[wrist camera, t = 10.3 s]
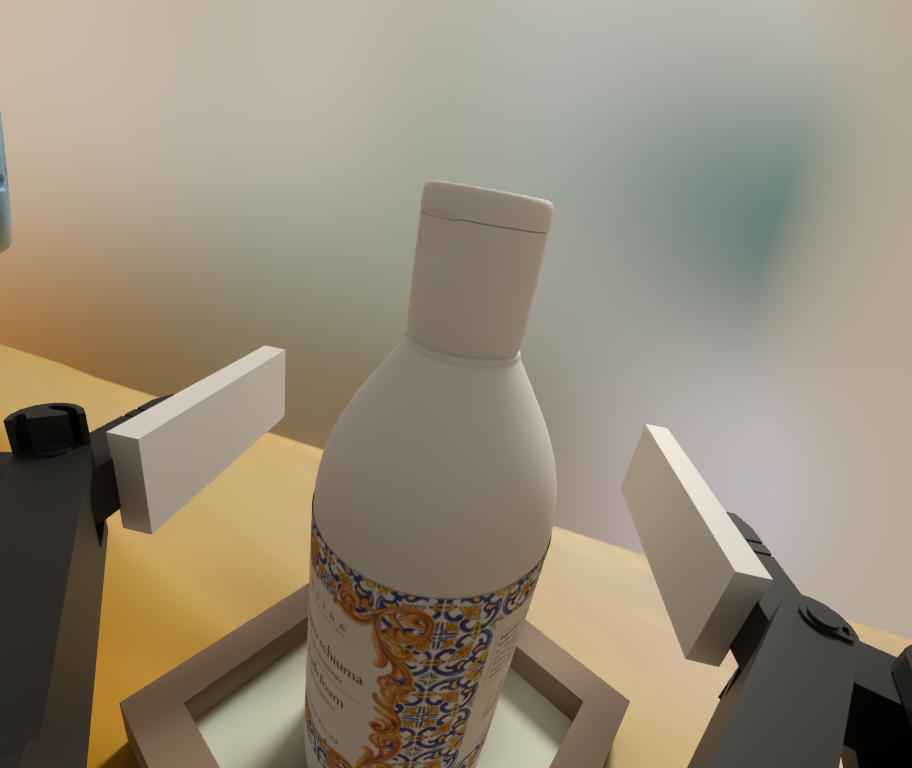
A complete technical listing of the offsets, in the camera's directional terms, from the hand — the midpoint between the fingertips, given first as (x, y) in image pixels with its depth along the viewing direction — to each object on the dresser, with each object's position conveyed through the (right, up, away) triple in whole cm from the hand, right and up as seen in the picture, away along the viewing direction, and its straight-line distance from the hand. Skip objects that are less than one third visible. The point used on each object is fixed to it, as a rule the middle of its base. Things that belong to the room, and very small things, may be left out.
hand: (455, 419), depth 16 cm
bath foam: (-3, -13, +2) cm, 13 cm away
